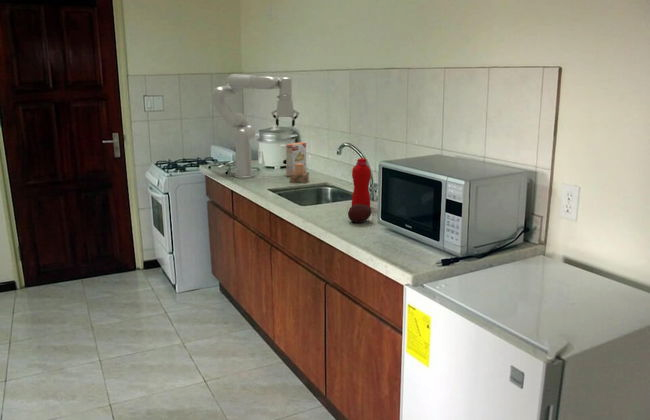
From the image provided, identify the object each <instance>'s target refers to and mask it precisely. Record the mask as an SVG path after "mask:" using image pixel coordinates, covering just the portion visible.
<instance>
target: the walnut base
mask: <svg viewBox="0 0 650 420" xmlns="http://www.w3.org/2000/svg"><path fill="white" fill-rule="evenodd" d="M309 173H310V172H308V171H306V172H304V174H295V172H292V174H291V175H290V176H289V177H290V178H289V179H290V181H289V182H290V184H308V182H309V180H310V179H309V178H310V177H309V175H310V174H309Z"/></svg>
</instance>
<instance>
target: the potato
mask: <svg viewBox="0 0 650 420" xmlns="http://www.w3.org/2000/svg"><path fill="white" fill-rule="evenodd" d="M371 215H372V210H371V207H370V208H369V207H368V206H367V205H364V204H355V205H353V206H352V205H351V207H350V208H349V209H348V211H347V216H348V219H349V220H350V221H351V222H353V223H356V222H357V224H360V223H364V222H365V221H367V220H368V219H369V218H370V217H371Z"/></svg>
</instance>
